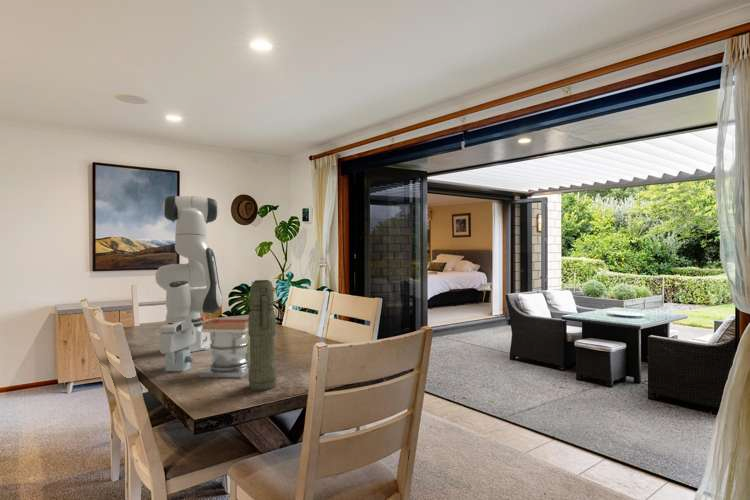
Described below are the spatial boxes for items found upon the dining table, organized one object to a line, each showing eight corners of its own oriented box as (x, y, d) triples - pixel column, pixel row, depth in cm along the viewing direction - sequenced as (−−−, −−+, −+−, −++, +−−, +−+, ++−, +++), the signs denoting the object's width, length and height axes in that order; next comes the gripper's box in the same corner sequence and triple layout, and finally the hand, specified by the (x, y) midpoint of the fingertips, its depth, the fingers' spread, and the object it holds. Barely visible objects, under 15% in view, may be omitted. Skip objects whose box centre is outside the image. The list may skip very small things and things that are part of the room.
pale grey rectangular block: (173, 367, 172) (172, 349, 172) (195, 367, 171) (194, 349, 171) (165, 371, 167) (165, 352, 167) (188, 371, 166) (188, 352, 166)
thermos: (254, 393, 140) (253, 282, 140) (244, 384, 150) (243, 280, 150) (281, 389, 144) (280, 281, 144) (270, 380, 154) (269, 279, 154)
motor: (219, 365, 175) (218, 317, 175) (258, 365, 173) (258, 318, 173) (198, 376, 159) (198, 324, 159) (241, 377, 157) (241, 325, 157)
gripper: (185, 320, 180) (185, 354, 180) (155, 328, 159) (155, 367, 159) (200, 320, 179) (200, 354, 179) (172, 328, 159) (172, 367, 159)
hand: (179, 360), depth 169 cm, fingers open, 8 cm apart
